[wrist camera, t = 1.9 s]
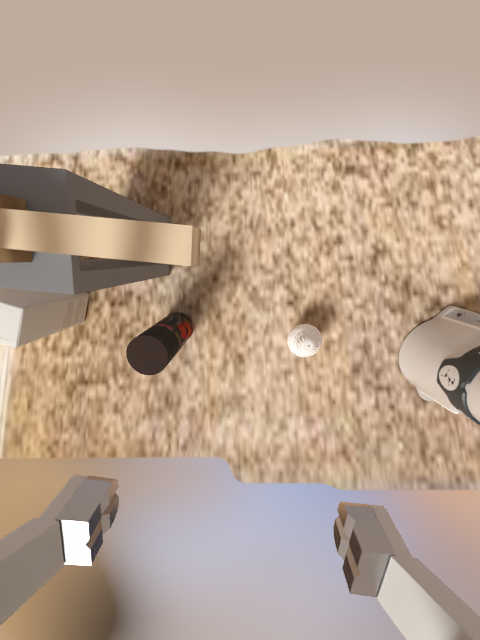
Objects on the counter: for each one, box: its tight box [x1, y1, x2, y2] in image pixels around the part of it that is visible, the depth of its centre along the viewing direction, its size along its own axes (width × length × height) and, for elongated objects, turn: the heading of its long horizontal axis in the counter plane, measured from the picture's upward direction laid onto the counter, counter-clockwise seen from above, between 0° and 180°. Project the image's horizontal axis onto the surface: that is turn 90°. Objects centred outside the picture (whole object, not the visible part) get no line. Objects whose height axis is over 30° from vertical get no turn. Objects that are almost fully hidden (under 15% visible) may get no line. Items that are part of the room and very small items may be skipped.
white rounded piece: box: [287, 324, 322, 357], centre depth 46 cm, size 6×6×7 cm
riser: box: [0, 164, 171, 295], centre depth 33 cm, size 10×10×28 cm
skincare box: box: [0, 287, 89, 348], centre depth 42 cm, size 8×7×16 cm
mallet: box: [0, 193, 201, 266], centre depth 19 cm, size 20×5×5 cm, turn 85°
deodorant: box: [126, 312, 193, 375], centre depth 43 cm, size 6×6×15 cm
